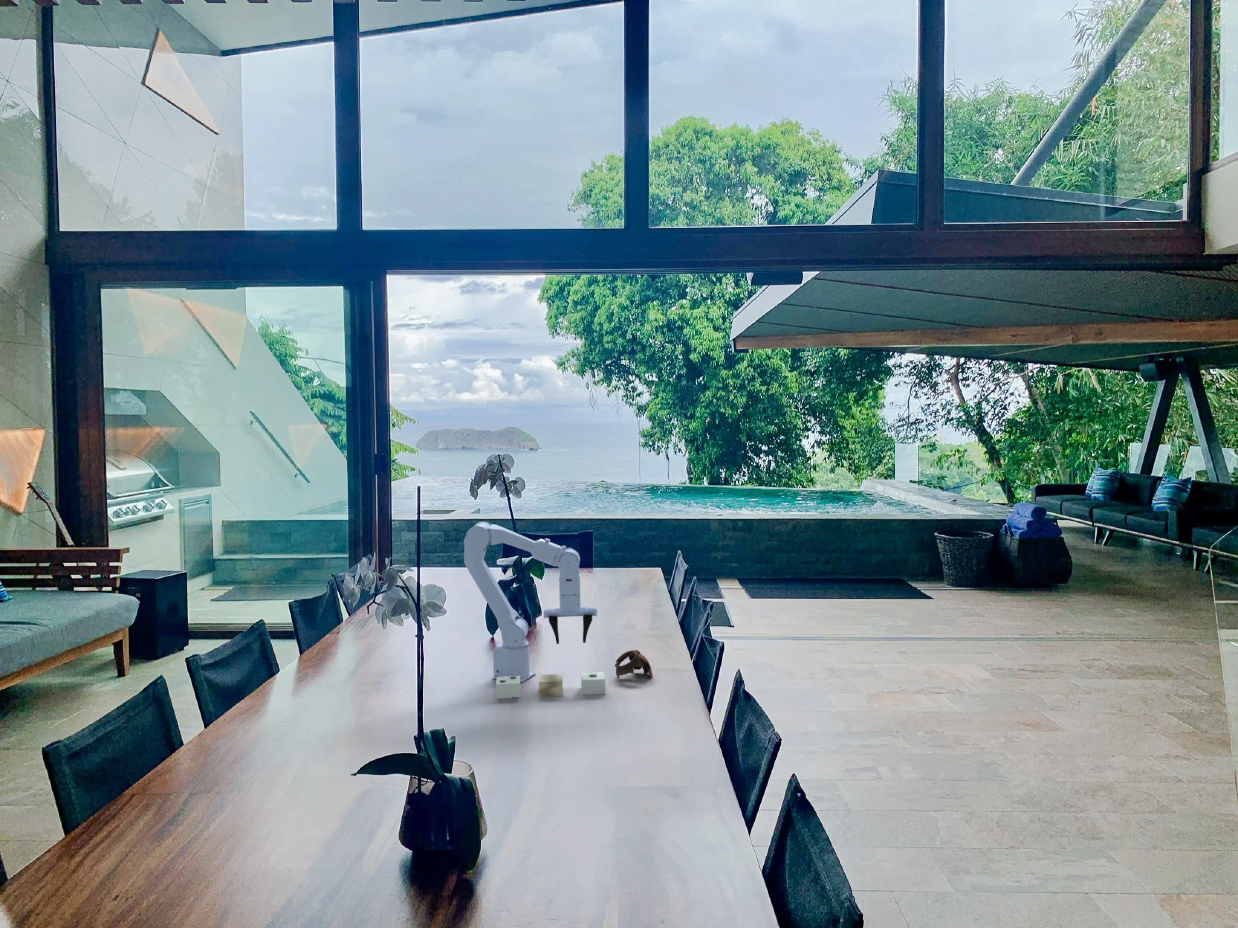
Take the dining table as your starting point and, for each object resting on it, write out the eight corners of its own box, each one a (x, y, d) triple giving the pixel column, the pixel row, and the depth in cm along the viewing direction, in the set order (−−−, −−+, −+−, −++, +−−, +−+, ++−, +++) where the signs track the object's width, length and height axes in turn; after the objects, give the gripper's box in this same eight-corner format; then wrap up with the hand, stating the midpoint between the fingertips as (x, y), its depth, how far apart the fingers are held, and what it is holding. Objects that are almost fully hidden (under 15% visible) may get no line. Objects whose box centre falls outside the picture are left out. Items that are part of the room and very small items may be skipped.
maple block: (539, 697, 218) (538, 681, 218) (539, 689, 224) (539, 674, 224) (562, 696, 219) (562, 681, 219) (562, 688, 225) (562, 673, 225)
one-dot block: (582, 695, 219) (581, 679, 219) (581, 687, 225) (581, 672, 225) (605, 694, 220) (605, 678, 219) (604, 686, 226) (603, 671, 225)
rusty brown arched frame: (655, 683, 228) (640, 660, 226) (624, 697, 230) (609, 674, 228) (655, 659, 240) (641, 636, 238) (626, 673, 242) (612, 650, 240)
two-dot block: (496, 699, 217) (495, 683, 217) (497, 691, 223) (496, 676, 223) (520, 698, 218) (519, 682, 218) (520, 690, 224) (520, 674, 224)
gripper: (543, 597, 229) (544, 647, 230) (597, 595, 230) (598, 645, 231) (543, 592, 236) (544, 640, 237) (595, 590, 237) (596, 638, 238)
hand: (571, 642), depth 234 cm, fingers open, 7 cm apart
